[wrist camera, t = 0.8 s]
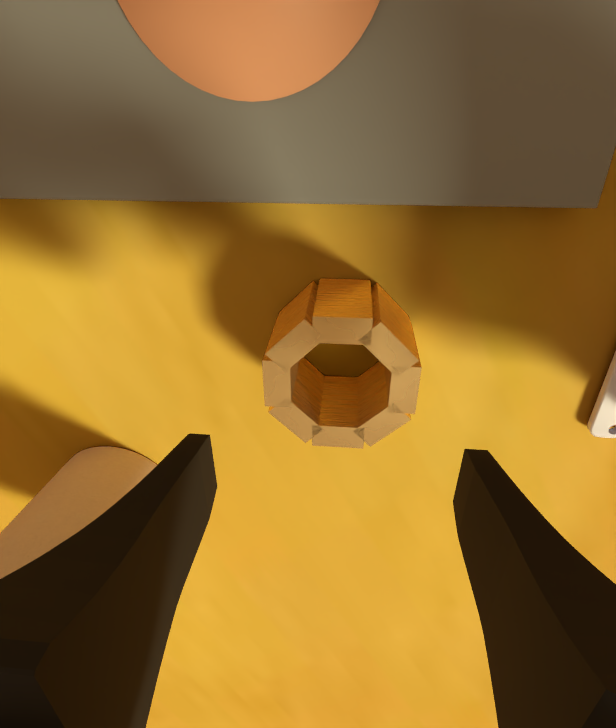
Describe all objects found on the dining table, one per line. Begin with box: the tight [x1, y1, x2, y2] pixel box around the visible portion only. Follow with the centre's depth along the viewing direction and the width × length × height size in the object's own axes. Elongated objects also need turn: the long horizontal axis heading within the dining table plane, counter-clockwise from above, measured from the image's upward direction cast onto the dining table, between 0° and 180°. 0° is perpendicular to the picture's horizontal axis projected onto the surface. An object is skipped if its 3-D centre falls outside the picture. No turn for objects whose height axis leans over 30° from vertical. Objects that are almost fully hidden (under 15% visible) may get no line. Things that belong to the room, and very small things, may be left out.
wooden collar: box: [262, 278, 421, 448], centre depth 18 cm, size 6×6×4 cm
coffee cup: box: [0, 446, 157, 579], centre depth 20 cm, size 10×10×15 cm
